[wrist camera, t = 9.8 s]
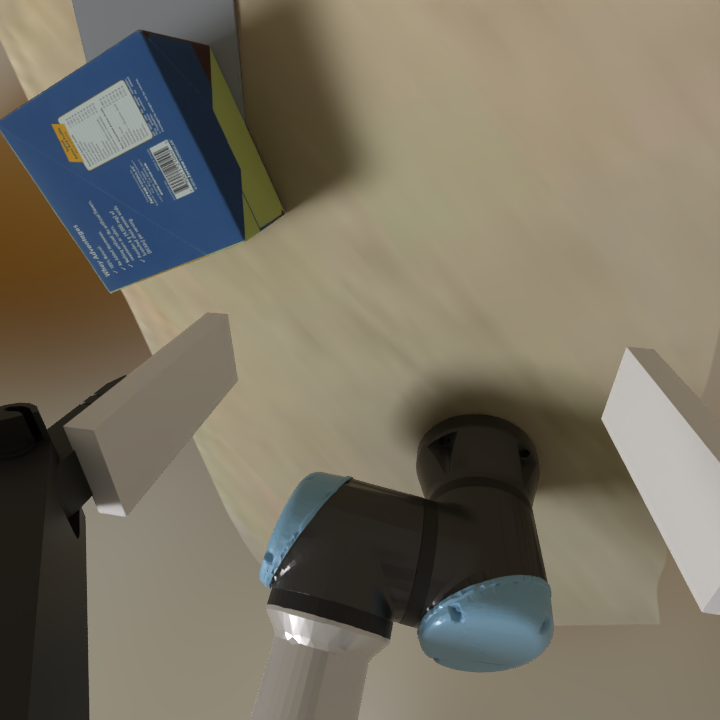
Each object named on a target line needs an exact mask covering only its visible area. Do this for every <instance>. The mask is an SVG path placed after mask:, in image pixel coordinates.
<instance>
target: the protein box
mask: <svg viewBox="0 0 720 720" xmlns="http://www.w3.org/2000/svg"><path fill="white" fill-rule="evenodd" d="M0 131H1V133H2V134H3V136H4V138H5V139H6V141H7V142H8V144H9V145H10V147H11V148H12V150H13V151H14V153H15V154H16V156H17V157H18V158H19V160H20V162H21V163H22V164H23V166H24V167H25V169H26V170H27V172H28V173H29V174H30V176H31V178H32V179H33V180H34V182H35V183H36V185H37V186H38V187H39V189H40V191H41V192H42V194H43V195H44V197H45V198H46V200H47V201H48V203H49V204H50V206H51V207H52V209H53V210H54V212H55V213H56V215H57V216H58V218H59V219H60V221H61V222H62V224H63V225H64V226H65V228H66V229H67V231H68V232H69V234H70V235H71V237H72V238H73V239H74V241H75V242H76V244H77V245H78V246H79V248H80V249H81V251H82V252H83V254H84V255H85V257H86V258H87V259H88V261H89V263H90V264H91V266H92V267H93V269H94V270H95V272H96V273H97V275H98V276H99V278H100V279H101V281H102V282H103V284H104V285H105V287H106V288H107V290H108V291H109V292H110V293H114V292H116V291H118V290H120V289H122V288H125V287H127V286H130V285H133V284H135V283H138V282H140V281H143V280H146V279H148V278H151V277H153V276H156V275H159V274H161V273H164V272H166V271H169V270H172V269H174V268H177V267H179V266H182V265H185V264H188V263H190V262H193V261H196V260H198V259H201V258H204V257H206V256H209V255H211V254H214V253H217V252H219V251H222V250H225V249H227V248H230V247H233V246H235V245H238V244H241V243H243V242H245V241H247V240H248V239H250V238H251V237H253V236H254V235H256V234H257V233H259V232H260V231H262V230H263V229H264V228H266V227H267V226H269V225H270V224H271V223H273V222H274V221H275V220H277V219H278V218H279V217H281V216H283V215H284V214H285V213H284V209H283V207H282V205H281V203H280V201H279V199H278V196H277V194H276V192H275V190H274V187H273V185H272V183H271V181H270V178H269V176H268V174H267V172H266V170H265V167H264V165H263V163H262V161H261V158H260V156H259V154H258V152H257V150H256V147H255V145H254V143H253V141H252V139H251V136H250V134H249V132H248V130H247V127H246V125H245V123H244V121H243V119H242V116H241V114H240V112H239V110H238V108H237V105H236V103H235V101H234V99H233V97H232V94H231V92H230V90H229V88H228V85H227V83H226V81H225V79H224V77H223V74H222V72H221V70H220V68H219V66H218V63H217V61H216V59H215V57H214V55H213V52H212V50H211V48H210V46H209V45H206V44H202V43H198V42H193V41H189V40H185V39H180V38H176V37H172V36H167V35H162V34H158V33H154V32H150V31H145V30H137V31H135V32H134V33H132V34H131V35H129V36H127V37H126V38H124V39H123V40H121V41H120V42H118V43H117V44H115V45H114V46H112V47H111V48H109V49H108V50H106V51H105V52H103V53H102V54H100V55H99V56H97V57H96V58H94V59H92V60H91V61H89V62H88V63H86V64H85V65H83V66H82V67H80V68H79V69H77V70H76V71H74V72H73V73H71V74H70V75H68V76H66V77H65V78H63V79H62V80H60V81H59V82H57V83H56V84H54V85H53V86H51V87H50V88H48V89H47V90H45V91H43V92H42V93H40V94H39V95H37V96H36V97H34V98H32V99H31V100H29V101H28V102H26V103H25V104H23V105H22V106H20V107H19V108H17V109H16V110H14V111H13V112H11V113H9V114H8V115H7V116H5V117H4V118H2V119H1V120H0Z"/></svg>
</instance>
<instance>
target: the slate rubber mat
mask: <svg viewBox="0 0 720 720" xmlns="http://www.w3.org/2000/svg"><path fill="white" fill-rule="evenodd" d="M72 3H73V8H74V12H75V16H76V20H77V24H78V28H79V33H80V37H81V41H82V45H83V49H84V53H85V57H86V62H87V63H88V62H89V61H91V60H92V59H94V58H96V57H97V56H99V55H100V54H102V53H103V52H105V51H106V50H108V49H109V48H111V47H112V46H114V45H115V44H117V43H118V42H120V41H121V40H123V39H124V38H126V37H127V36H129V35H131V34H132V33H134V32H135V31H137V30H145V31H150V32H154V33H158V34H162V35H167V36H172V37H176V38H180V39H185V40H189V41H193V42H198V43H202V44H206V45H209V46H210V48H211V50H212V52H213V55H214V57H215V59H216V61H217V63H218V66H219V68H220V70H221V72H222V74H223V77H224V79H225V81H226V83H227V85H228V88H229V90H230V92H231V94H232V97H233V99H234V101H235V103H236V105H237V108H238V110H239V112H240V114H241V116H242V119H243V121H244V123H245V113H244V102H243V90H242V78H241V67H240V55H239V44H238V32H237V20H236V9H235V0H72Z"/></svg>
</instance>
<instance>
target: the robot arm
mask: <svg viewBox="0 0 720 720" xmlns="http://www.w3.org/2000/svg"><path fill="white" fill-rule="evenodd" d="M237 381H238V378H237V371H236V365H235V358H234V352H233V345H232V339H231V333H230V326H229V320H228V314H220V313H206V314H205V315H204V316H202V317H201V318H200V319H199V320H197V321H196V322H195V323H194V324H192V325H191V326H190V327H189V328H187V329H186V330H185V331H183V332H182V333H181V334H180V335H178V336H177V337H176V338H175V339H173V340H172V341H171V342H169V343H168V344H167V345H166V346H164V347H163V348H162V349H161V350H159V351H158V352H157V353H155V354H154V355H153V356H152V357H151V358H149V359H148V360H147V361H145V362H144V363H143V364H142V365H140V366H139V367H138V368H136V369H135V370H134V371H133V372H131V373H130V374H129V375H128V376H126V375H125V376H122V377H120V378H118V379H116V380H114V381H112V382H110V383H107V384H106V385H105V386H104V387H102V388H101V389H99V390H98V391H97V392H96V393H94V396H90V397H89V398H88V399H86V400H85V401H84V402H83V404H82V405H79V406H77V407H76V408H75V409H73V410H72V411H71V412H69V413H68V414H67V415H65V416H64V417H63V418H62V419H60V420H59V421H58V422H56V423H55V424H54V425H52V426H51V427H50V428H48V429H46V426H45V424H44V422H43V420H42V417H41V415H40V413H39V411H38V408H37V406H35V405H33V404H30V403H15V404H9V405H4V406H1V407H0V720H89V679H88V627H87V626H88V625H87V579H86V578H87V575H86V524H85V515H84V512H83V510H82V508H81V507H82V506H83V505H84V504H85V502H86V501H87V500H88V499H89V498H90V497H91V496H92V497H93V499H94V501H95V504H96V506H97V509H98V511H99V513H105V514H111V515H117V516H123V517H127V515H128V514H129V513H130V512H131V511H132V509H133V508H134V507H135V506H136V504H137V503H138V502H139V500H140V499H141V498H142V497H143V496H144V494H145V493H146V492H147V491H148V490H149V488H150V487H151V486H152V485H153V484H154V482H155V481H156V480H157V479H158V477H159V476H160V475H161V474H162V473H163V471H164V470H165V469H166V468H167V466H168V465H169V464H170V463H171V462H172V460H173V459H174V458H175V457H176V455H177V454H178V453H179V452H180V450H181V449H182V448H183V447H184V445H185V444H186V443H187V442H188V441H189V439H190V438H191V437H192V436H193V435H194V433H195V432H196V431H197V430H198V428H199V427H200V426H201V425H202V424H203V422H204V421H205V420H206V419H207V417H208V416H209V415H210V414H211V413H212V411H213V410H214V409H215V408H216V406H217V405H218V404H219V403H220V401H221V400H222V399H223V398H224V397H225V395H226V394H227V393H228V392H229V390H230V389H231V388H232V387H233V386H234V384H235V383H236V382H237ZM601 420H602V421H603V423H604V425H605V427H606V429H607V431H608V433H609V435H610V437H611V439H612V441H613V443H614V445H615V446H616V448H617V450H618V452H619V454H620V456H621V458H622V460H623V462H624V464H625V466H626V468H627V469H628V471H629V473H630V475H631V477H632V479H633V481H634V483H635V485H636V487H637V489H638V491H639V492H640V494H641V496H642V498H643V500H644V502H645V504H646V506H647V508H648V510H649V512H650V514H651V516H652V517H653V519H654V521H655V523H656V525H657V527H658V529H659V531H660V533H661V535H662V537H663V539H664V540H665V542H666V544H667V546H668V548H669V550H670V552H671V554H672V556H673V558H674V560H675V562H676V564H677V565H678V567H679V569H680V571H681V573H682V575H683V577H684V579H685V581H686V582H687V584H688V587H689V588H690V590H691V592H692V594H693V596H694V598H695V600H696V602H697V604H698V606H699V608H700V610H701V611H702V612H704V613H711V614H717V615H720V421H719V420H718V419H717V418H716V417H715V416H714V414H713V413H712V412H711V411H710V410H709V409H708V408H707V407H706V406H705V405H704V404H703V403H702V401H701V400H700V399H699V398H698V397H697V396H696V395H695V394H694V393H693V392H692V390H691V389H690V388H689V387H688V386H687V385H686V384H685V383H684V382H683V381H682V379H681V378H680V377H679V376H678V375H677V374H676V373H675V372H674V371H673V370H672V369H671V367H670V366H669V365H668V364H667V363H666V362H665V361H664V360H663V359H662V358H661V357H660V355H659V354H658V353H657V352H656V351H655V350H654V349H646V348H634V347H626V350H625V353H624V356H623V359H622V361H621V364H620V367H619V370H618V373H617V376H616V378H615V381H614V384H613V387H612V390H611V393H610V395H609V398H608V401H607V404H606V407H605V409H604V412H603V415H602V418H601ZM416 470H417V476H418V479H419V482H420V485H421V488H422V491H423V494H424V497H425V498H422V497H418V496H415V495H411V494H407V493H403V492H399V491H396V490H392V489H388V488H384V487H381V486H377V485H373V484H369V483H366V482H362V481H359V480H355V479H354V478H353V477H350V476H347V477H343V476H338V475H333V474H328V473H323V472H315V473H312V474H309V475H308V476H306V477H305V478H304V479H303V480H302V481H301V482H300V483H299V484H298V486H297V487H296V489H295V490H294V492H293V493H292V495H291V497H290V498H289V500H288V502H287V504H286V506H285V507H284V509H283V511H282V513H281V515H280V517H279V520H278V522H277V524H276V526H275V528H274V531H273V533H272V536H271V538H270V541H269V543H268V547H267V549H268V550H267V551H266V554H265V556H264V559H263V561H262V564H261V569H260V580H261V582H262V583H263V584H265V586H266V587H267V588H271V587H272V590H271V593H270V596H269V600H268V603H267V606H266V610H267V613H268V615H269V618H270V620H271V623H272V625H273V627H274V634H275V637H274V640H273V644H272V647H271V650H270V653H269V657H268V660H267V664H266V667H265V670H264V674H263V677H262V680H261V684H260V687H259V690H258V694H257V697H256V700H255V704H254V707H253V710H252V714H251V717H250V720H358V716H359V710H360V705H361V699H362V694H363V689H364V683H365V678H366V673H367V667H368V663H369V662H370V660H371V659H372V658H373V657H374V656H375V655H376V654H377V653H379V652H380V651H381V650H383V649H384V648H385V647H386V646H388V645H389V643H390V637H391V631H392V625H393V622H397V623H400V624H404V625H407V626H411V627H415V628H417V629H418V630H417V634H418V639H419V641H420V645H421V648H422V650H423V651H424V653H425V654H426V655H427V656H428V657H429V658H433V659H434V660H435V662H437V663H438V664H440V665H443V666H445V667H449V668H452V669H456V670H461V671H468V672H496V671H503V670H508V669H511V668H516V667H519V666H522V665H524V664H527V663H529V662H531V661H532V660H534V659H536V658H537V657H538V656H540V655H541V654H542V653H543V652H544V651H545V650H546V648H547V647H548V646H549V644H550V641H551V639H552V636H553V631H554V623H553V614H552V606H551V588H550V586H549V584H548V582H547V577H546V572H545V568H544V563H543V558H542V553H541V548H540V544H539V539H538V534H537V529H536V524H535V520H534V515H533V510H532V506H533V502H534V497H535V493H536V488H537V484H538V480H539V463H538V458H537V454H536V450H535V447H534V445H533V443H532V442H531V440H530V439H529V437H528V436H527V435H526V434H525V433H524V432H523V431H522V430H520V429H519V428H518V427H516V426H515V425H513V424H511V423H509V422H507V421H505V420H502V419H499V418H496V417H492V416H485V415H464V416H458V417H454V418H451V419H448V420H445V421H443V422H441V423H439V424H437V425H436V426H434V427H433V428H432V429H431V430H429V431H428V432H427V433H426V435H425V436H424V437H423V439H422V440H421V442H420V445H419V447H418V452H417V462H416Z"/></svg>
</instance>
